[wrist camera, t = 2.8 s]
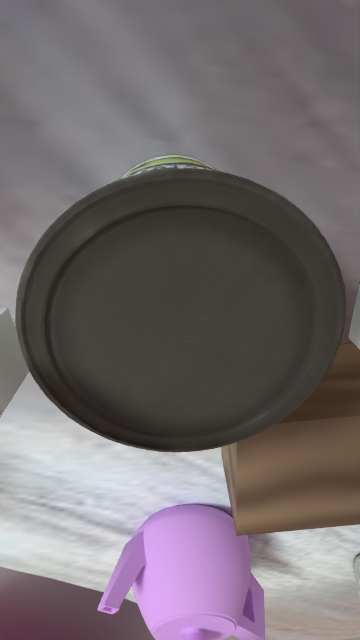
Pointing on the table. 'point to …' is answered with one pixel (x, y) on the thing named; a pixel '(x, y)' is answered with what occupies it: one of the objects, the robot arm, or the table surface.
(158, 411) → the coffee can
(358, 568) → the jerry can
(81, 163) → the table surface
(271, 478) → the walnut block
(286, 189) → the table surface
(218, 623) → the teapot
